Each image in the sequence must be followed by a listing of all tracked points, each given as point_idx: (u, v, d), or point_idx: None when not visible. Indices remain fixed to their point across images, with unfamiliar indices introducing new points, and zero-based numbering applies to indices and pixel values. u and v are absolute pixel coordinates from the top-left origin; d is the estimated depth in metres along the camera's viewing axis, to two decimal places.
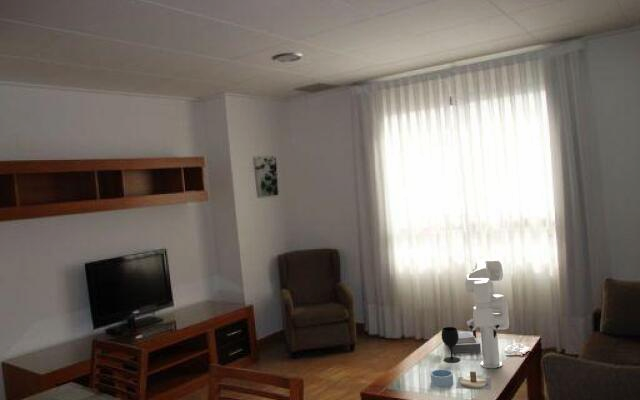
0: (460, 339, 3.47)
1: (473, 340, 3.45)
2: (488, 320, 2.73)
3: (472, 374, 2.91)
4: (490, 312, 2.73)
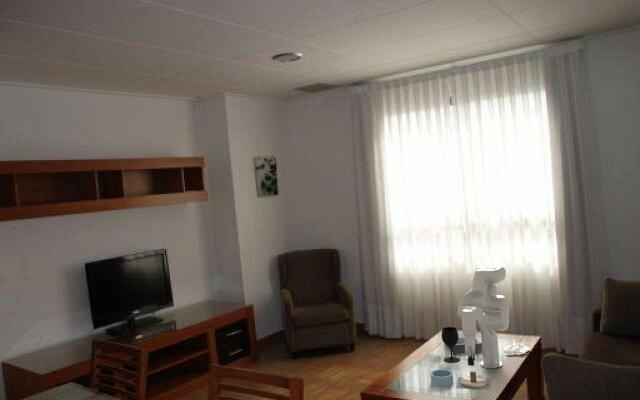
0: (461, 339, 3.47)
1: None
2: None
3: (472, 374, 2.91)
4: None
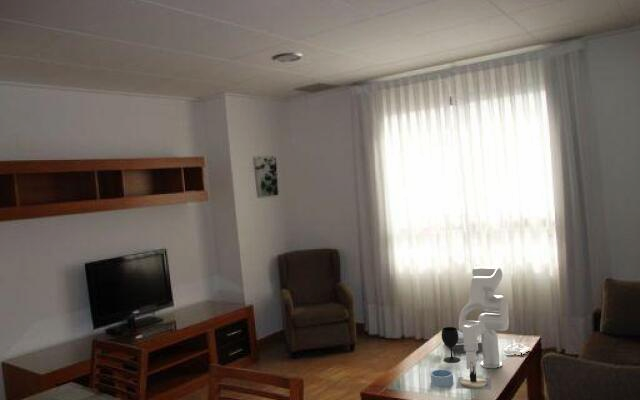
0: (462, 339, 3.47)
1: None
2: (476, 359, 2.93)
3: None
4: None
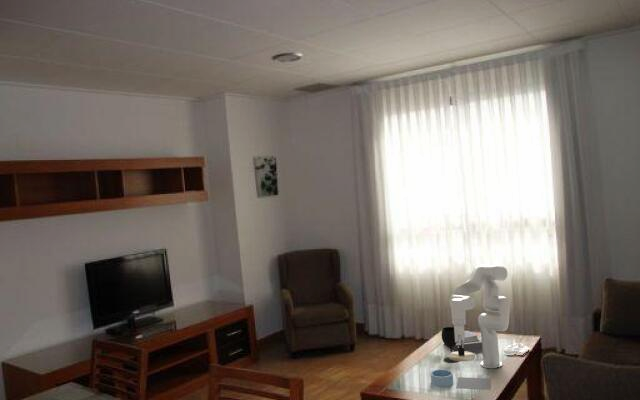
0: (464, 338, 3.47)
1: (476, 339, 3.48)
2: None
3: None
4: None
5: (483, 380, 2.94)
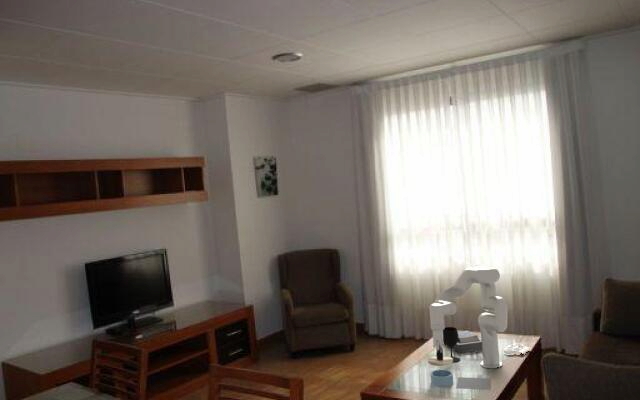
0: (465, 338, 3.48)
1: (477, 338, 3.48)
2: None
3: None
4: None
5: (483, 380, 2.94)
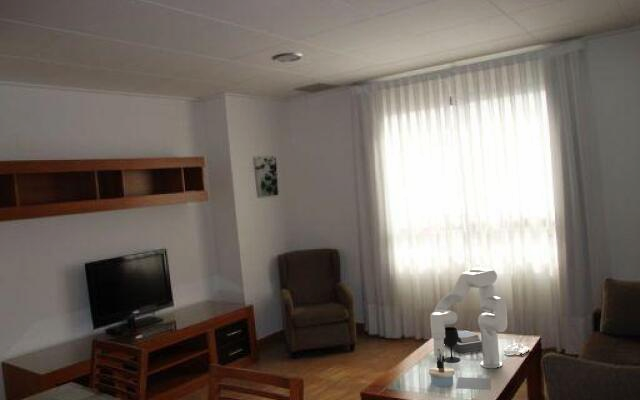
0: (466, 338, 3.48)
1: (477, 338, 3.49)
2: None
3: None
4: None
5: (483, 380, 2.94)
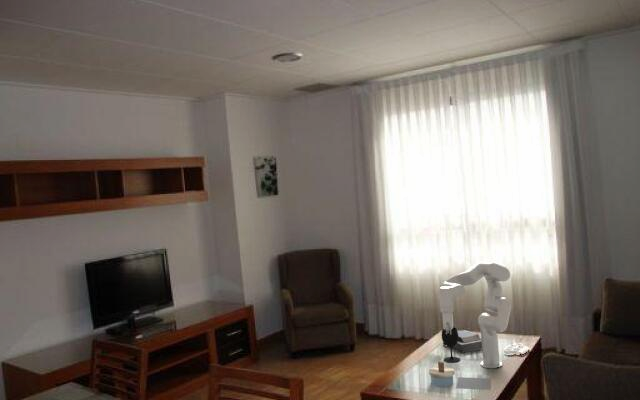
0: (467, 338, 3.48)
1: (478, 337, 3.50)
2: None
3: (440, 364, 2.95)
4: None
5: (483, 380, 2.94)
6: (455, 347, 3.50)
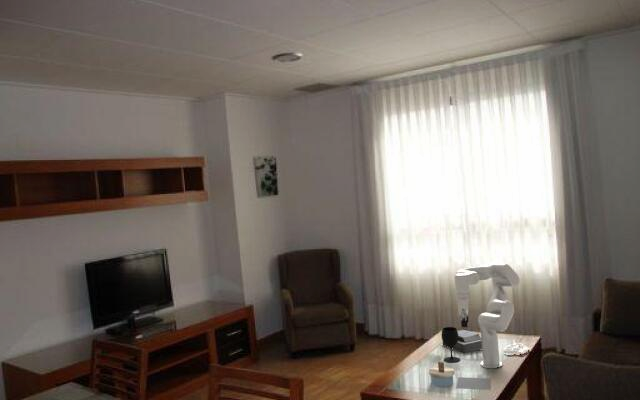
0: (468, 337, 3.49)
1: (479, 337, 3.51)
2: None
3: (440, 364, 2.95)
4: None
5: (483, 380, 2.94)
6: (456, 347, 3.50)
